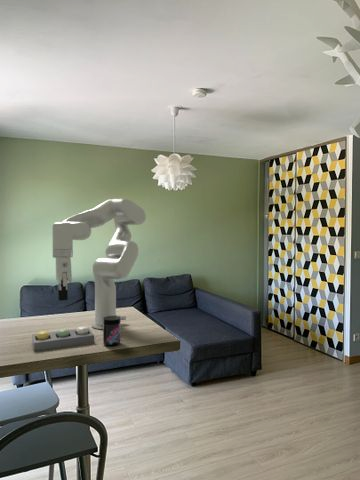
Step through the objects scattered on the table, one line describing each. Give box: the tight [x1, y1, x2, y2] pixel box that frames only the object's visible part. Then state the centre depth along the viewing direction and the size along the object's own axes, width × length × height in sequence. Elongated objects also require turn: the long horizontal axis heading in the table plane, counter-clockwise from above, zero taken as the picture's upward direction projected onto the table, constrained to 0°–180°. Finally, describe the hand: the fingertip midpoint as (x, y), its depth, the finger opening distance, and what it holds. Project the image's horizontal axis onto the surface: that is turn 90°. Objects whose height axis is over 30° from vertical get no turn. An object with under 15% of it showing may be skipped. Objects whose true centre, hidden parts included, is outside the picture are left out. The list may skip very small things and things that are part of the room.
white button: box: [76, 326, 89, 335], centre depth 141 cm, size 4×4×2 cm
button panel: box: [31, 327, 95, 352], centre depth 138 cm, size 22×11×3 cm, turn 116°
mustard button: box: [36, 330, 49, 340], centre depth 135 cm, size 4×4×2 cm
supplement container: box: [102, 315, 122, 348], centre depth 136 cm, size 7×7×10 cm
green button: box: [56, 328, 70, 338], centre depth 138 cm, size 4×4×2 cm
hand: (63, 299), depth 137 cm, fingers closed
